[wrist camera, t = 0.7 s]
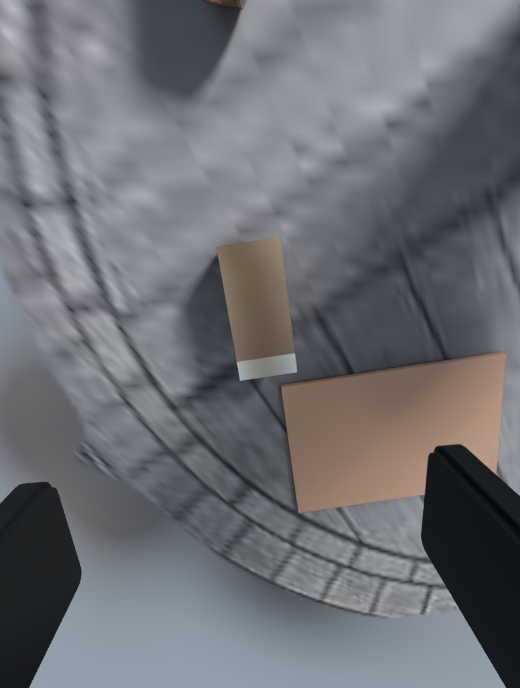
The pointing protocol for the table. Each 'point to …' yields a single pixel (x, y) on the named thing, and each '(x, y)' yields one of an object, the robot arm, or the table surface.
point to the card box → (258, 307)
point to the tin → (228, 3)
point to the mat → (389, 428)
